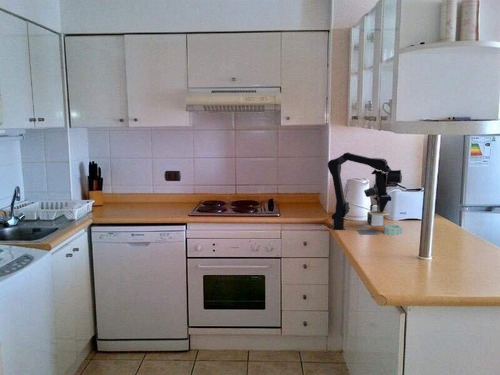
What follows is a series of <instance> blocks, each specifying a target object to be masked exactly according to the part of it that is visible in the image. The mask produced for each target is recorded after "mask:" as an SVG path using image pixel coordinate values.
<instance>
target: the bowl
mask: <svg viewBox="0 0 500 375" xmlns="http://www.w3.org/2000/svg"><path fill="white" fill-rule="evenodd" d="M402 233H403V226H401V225H399V224H384V225H383V234H384V235H387V236H401V235H402Z"/></svg>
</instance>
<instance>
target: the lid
mask: <svg viewBox="0 0 500 375" xmlns="http://www.w3.org/2000/svg"><path fill="white" fill-rule="evenodd" d="M370 212H371V211H370ZM371 214H373V215H380V216H383V217H384V216H389V215H391V212H390V211H387V210H385V209H384V210H383V212H380V207H379V205H377V211H372V212H371Z"/></svg>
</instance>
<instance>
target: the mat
mask: <svg viewBox="0 0 500 375" xmlns="http://www.w3.org/2000/svg"><path fill="white" fill-rule="evenodd" d="M356 232H357V233H358V234H359V235H361V236H363V235H364V236H366V235H367V236H373V235H375V236H379V235H380V234H379V233H378V232H377V231H376V230H375V229H356Z"/></svg>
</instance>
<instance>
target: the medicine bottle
mask: <svg viewBox="0 0 500 375" xmlns="http://www.w3.org/2000/svg"><path fill="white" fill-rule="evenodd" d="M372 211H377V203H373V204H370V207H369V211H367V219H366V220H367V221H366V222H367V225H369V226H372V227H375V226H379V227H380V226H384V215H383V216H380V215H373V214H371V212H372Z"/></svg>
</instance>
